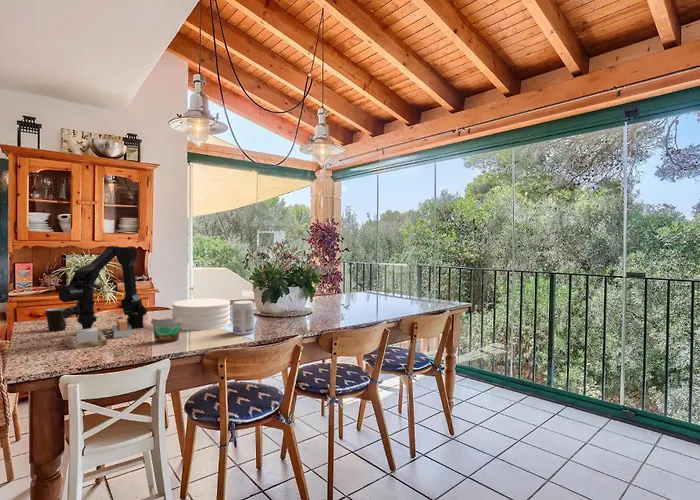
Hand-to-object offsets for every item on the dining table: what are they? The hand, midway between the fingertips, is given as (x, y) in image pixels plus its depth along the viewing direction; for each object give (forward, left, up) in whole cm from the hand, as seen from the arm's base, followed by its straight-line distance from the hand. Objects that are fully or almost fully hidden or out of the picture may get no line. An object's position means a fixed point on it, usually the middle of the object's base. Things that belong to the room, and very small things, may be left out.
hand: (85, 335), depth 174 cm
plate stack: (-51, -10, -3) cm, 52 cm away
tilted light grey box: (0, +5, -3) cm, 6 cm away
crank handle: (-14, -5, 0) cm, 15 cm away
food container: (-28, +18, -3) cm, 33 cm away
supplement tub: (-61, +20, -3) cm, 64 cm away
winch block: (-12, -5, -3) cm, 13 cm away
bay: (0, 0, -3) cm, 3 cm away
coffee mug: (+8, -34, -3) cm, 35 cm away
